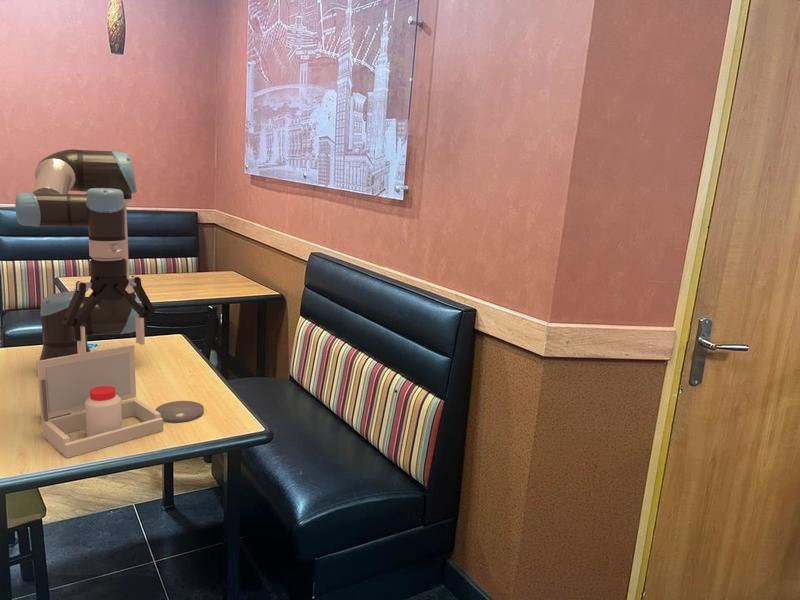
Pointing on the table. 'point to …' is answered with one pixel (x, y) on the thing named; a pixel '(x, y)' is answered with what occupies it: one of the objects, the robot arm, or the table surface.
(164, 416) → the saucer
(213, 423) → the table surface
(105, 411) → the pill bottle
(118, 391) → the box
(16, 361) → the table surface
